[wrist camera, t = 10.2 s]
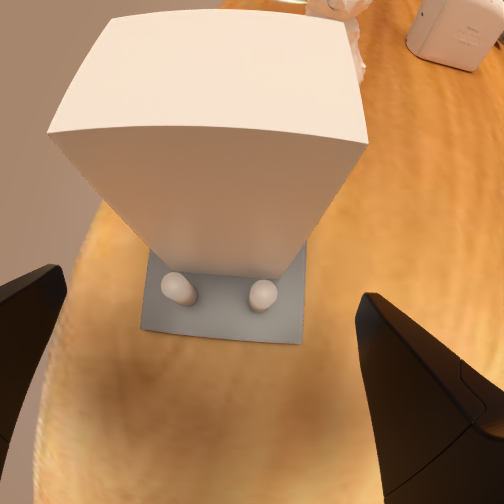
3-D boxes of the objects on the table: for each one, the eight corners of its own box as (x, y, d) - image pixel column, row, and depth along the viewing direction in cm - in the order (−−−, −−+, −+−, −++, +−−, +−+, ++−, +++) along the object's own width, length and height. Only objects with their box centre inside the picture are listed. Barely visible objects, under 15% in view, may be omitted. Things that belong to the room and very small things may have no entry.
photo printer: (414, 60, 25) (458, -24, 13) (398, 37, 26) (434, -43, 14) (476, 77, 26) (523, 13, 14) (461, 54, 27) (500, -9, 15)
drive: (279, 279, 17) (368, 143, 5) (172, 270, 17) (46, 133, 5) (282, 212, 18) (343, 22, 6) (182, 205, 18) (111, 18, 6)
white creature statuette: (295, 36, 25) (313, -67, 13) (374, 77, 24) (420, -25, 12) (235, 82, 22) (234, -49, 11) (328, 134, 21) (380, -1, 10)
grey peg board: (298, 343, 17) (317, 345, 13) (145, 329, 17) (117, 326, 13) (304, 172, 20) (318, 133, 16) (171, 163, 20) (156, 123, 16)
